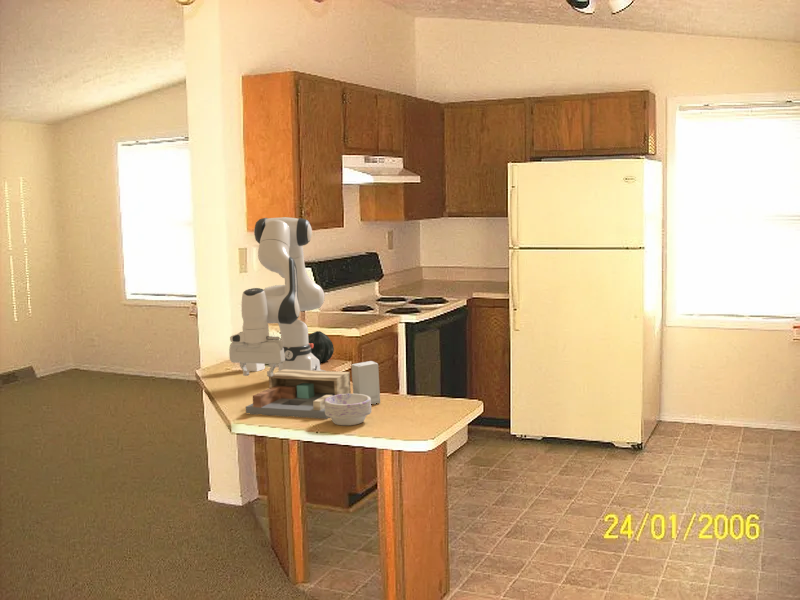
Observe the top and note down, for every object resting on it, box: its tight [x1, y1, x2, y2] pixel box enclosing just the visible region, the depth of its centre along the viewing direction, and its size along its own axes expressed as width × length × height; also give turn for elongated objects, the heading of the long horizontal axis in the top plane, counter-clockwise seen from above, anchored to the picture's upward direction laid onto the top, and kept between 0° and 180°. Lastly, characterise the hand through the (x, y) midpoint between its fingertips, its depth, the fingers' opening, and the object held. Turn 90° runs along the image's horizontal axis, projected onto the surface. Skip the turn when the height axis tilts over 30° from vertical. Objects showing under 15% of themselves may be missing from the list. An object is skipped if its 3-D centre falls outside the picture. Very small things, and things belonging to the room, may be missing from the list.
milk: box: [245, 363, 266, 372], centre depth 375 cm, size 6×6×22 cm
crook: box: [252, 386, 296, 408], centre depth 302 cm, size 16×8×4 cm, turn 159°
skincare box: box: [351, 360, 381, 405], centre depth 304 cm, size 8×6×15 cm
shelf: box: [268, 369, 352, 395], centre depth 311 cm, size 11×27×8 cm, turn 69°
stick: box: [313, 395, 333, 410], centre depth 293 cm, size 10×2×3 cm, turn 159°
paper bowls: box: [324, 393, 372, 426], centre depth 281 cm, size 15×15×8 cm
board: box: [245, 392, 335, 420], centre depth 304 cm, size 26×31×2 cm
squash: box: [308, 330, 335, 363], centre depth 389 cm, size 14×15×15 cm
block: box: [297, 383, 314, 399], centre depth 309 cm, size 4×4×4 cm
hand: (258, 375), depth 296 cm, fingers open, 8 cm apart
